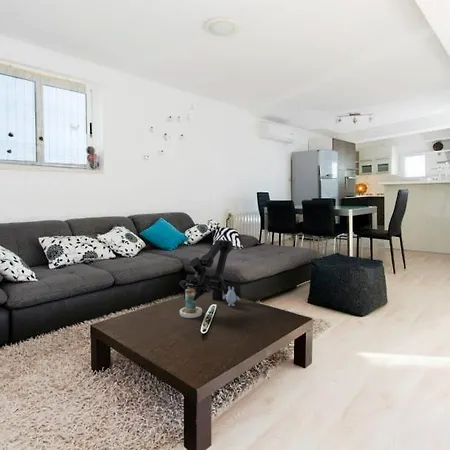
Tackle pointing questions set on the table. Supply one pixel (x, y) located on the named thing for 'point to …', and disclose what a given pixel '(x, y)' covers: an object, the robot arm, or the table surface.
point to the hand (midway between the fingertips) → (189, 299)
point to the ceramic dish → (194, 315)
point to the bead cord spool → (190, 301)
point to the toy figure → (231, 297)
